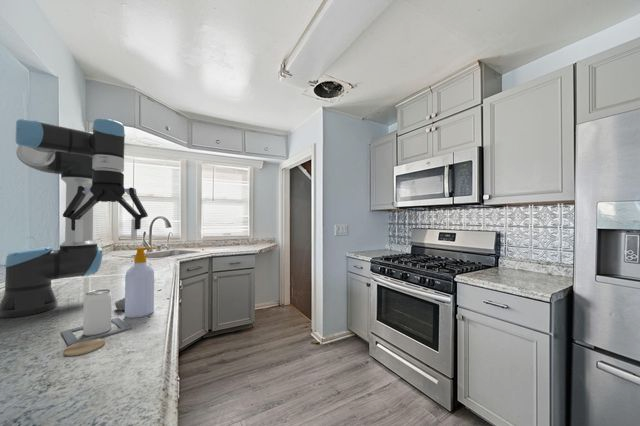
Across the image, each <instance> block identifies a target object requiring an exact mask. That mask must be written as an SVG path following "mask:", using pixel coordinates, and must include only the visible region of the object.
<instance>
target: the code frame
mask: <svg viewBox="0 0 640 426" xmlns="http://www.w3.org/2000/svg"><path fill="white" fill-rule="evenodd" d="M111 323H113V324H114V325H115V326H116V327H118V328H116V329H114V330H109V331H107V332H105V333H102V334H99V335H95V336H87V337H85V338H82V339H81V338H80V339H78V338H77V337H76V335H75V334H74V332H78V331H81V330H82V331H83V325H82V326H78V327H74V328H69V329H65V330H61V331H60V334H61V335H62V337H63V339H64V340H65V343H66V344H67V347H69V346H71V345H73V344H75V343H78V342H81V341H85V340H90V339H102V338H105V337H108V336H111V335H116V334H118V333H119V334H120V333H123V332H126V331H129V330H132V329H133V328H132V327H131V326H130V325H129V324H128V323H126V322H125V321H124V320H122V319H121V318H120V317H115V318H111Z"/></svg>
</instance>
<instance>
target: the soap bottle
mask: <svg viewBox="0 0 640 426" xmlns="http://www.w3.org/2000/svg"><path fill="white" fill-rule="evenodd" d="M151 249H153V250H156V249H157V247H154V246H152V247H151V246H150V247H148V246H147V247H136V254H135V255H134V263H133V265H131V266H130V267H129V268H128V269H127V271H126V273H125V277H124V281H125V282H124V283H125V284H124V285H125V286H124V298H125V310H124V316H125V317H126V318H130V319H132V318H134V319H135V318H140V317H145V316H149V315H150V314H152V313H153V312H154V310H155V270H154V268H153V267H152V266H151V265H150V264H148V263H147V255H146V254H145V250H151Z"/></svg>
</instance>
